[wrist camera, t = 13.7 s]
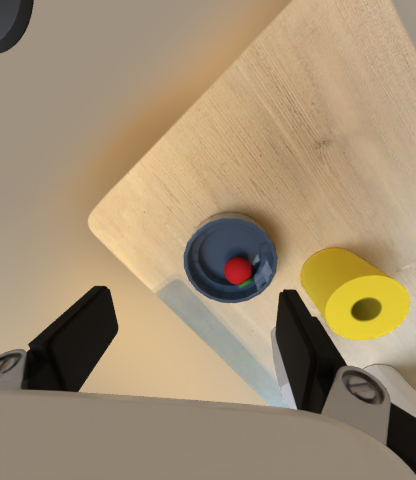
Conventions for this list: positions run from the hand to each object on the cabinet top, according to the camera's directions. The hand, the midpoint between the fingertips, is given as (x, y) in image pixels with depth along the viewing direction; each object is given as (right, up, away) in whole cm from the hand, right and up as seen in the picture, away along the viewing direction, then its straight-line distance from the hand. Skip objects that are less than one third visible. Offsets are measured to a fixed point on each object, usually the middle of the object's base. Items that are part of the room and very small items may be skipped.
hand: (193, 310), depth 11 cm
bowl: (+5, +2, +24) cm, 25 cm away
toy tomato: (+5, +1, +23) cm, 23 cm away
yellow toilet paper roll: (+22, -2, +24) cm, 33 cm away
